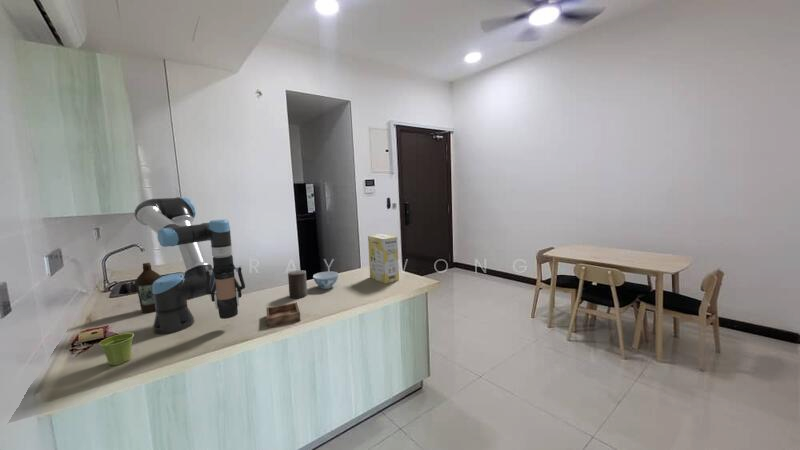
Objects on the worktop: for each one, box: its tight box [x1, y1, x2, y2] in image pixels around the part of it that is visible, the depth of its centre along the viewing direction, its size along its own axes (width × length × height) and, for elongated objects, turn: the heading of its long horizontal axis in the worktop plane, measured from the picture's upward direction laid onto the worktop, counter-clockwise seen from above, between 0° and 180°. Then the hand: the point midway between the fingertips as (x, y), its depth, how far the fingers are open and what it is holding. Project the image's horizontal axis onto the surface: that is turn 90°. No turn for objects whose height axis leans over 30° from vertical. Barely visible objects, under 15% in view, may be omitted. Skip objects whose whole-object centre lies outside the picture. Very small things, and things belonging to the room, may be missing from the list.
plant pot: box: [98, 332, 135, 366], centre depth 114 cm, size 9×9×9 cm
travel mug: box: [214, 270, 239, 320], centre depth 136 cm, size 8×8×20 cm
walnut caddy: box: [266, 302, 301, 328], centre depth 147 cm, size 14×14×4 cm
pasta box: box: [367, 233, 400, 285], centre depth 201 cm, size 18×10×28 cm, turn 37°
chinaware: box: [312, 270, 339, 290], centre depth 190 cm, size 15×15×8 cm
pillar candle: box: [287, 269, 308, 300], centre depth 176 cm, size 10×10×15 cm
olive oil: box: [135, 262, 162, 314], centre depth 163 cm, size 11×11×25 cm
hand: (227, 306), depth 137 cm, fingers closed on travel mug, 8 cm apart
